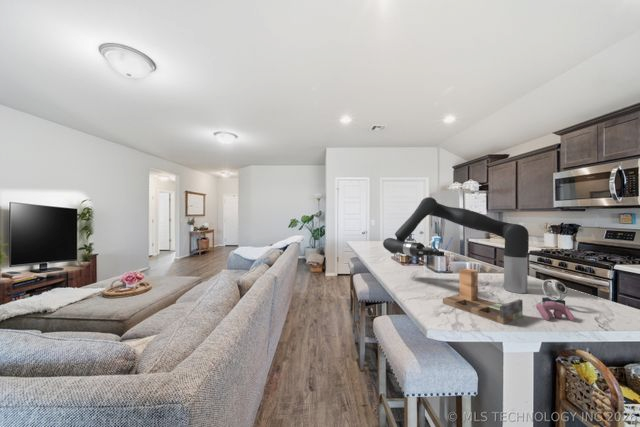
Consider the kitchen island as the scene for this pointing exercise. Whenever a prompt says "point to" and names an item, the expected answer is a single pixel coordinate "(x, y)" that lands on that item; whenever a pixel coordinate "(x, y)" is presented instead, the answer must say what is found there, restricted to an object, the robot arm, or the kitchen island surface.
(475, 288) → the block
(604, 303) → the kitchen island surface
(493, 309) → the board
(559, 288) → the watch
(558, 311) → the pink arched figurine
